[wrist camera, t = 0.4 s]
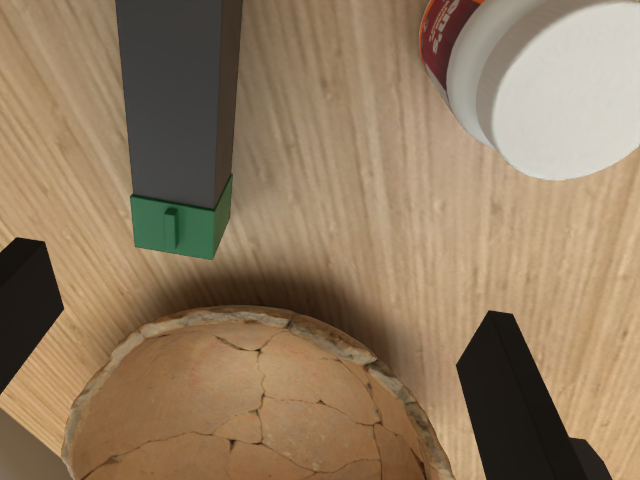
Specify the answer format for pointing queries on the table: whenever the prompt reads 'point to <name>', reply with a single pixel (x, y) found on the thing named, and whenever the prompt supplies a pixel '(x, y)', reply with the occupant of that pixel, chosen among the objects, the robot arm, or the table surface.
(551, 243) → the table surface
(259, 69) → the table surface
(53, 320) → the robot arm
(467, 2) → the pill bottle
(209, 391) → the ceramic bowl
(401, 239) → the table surface
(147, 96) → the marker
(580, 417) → the table surface
